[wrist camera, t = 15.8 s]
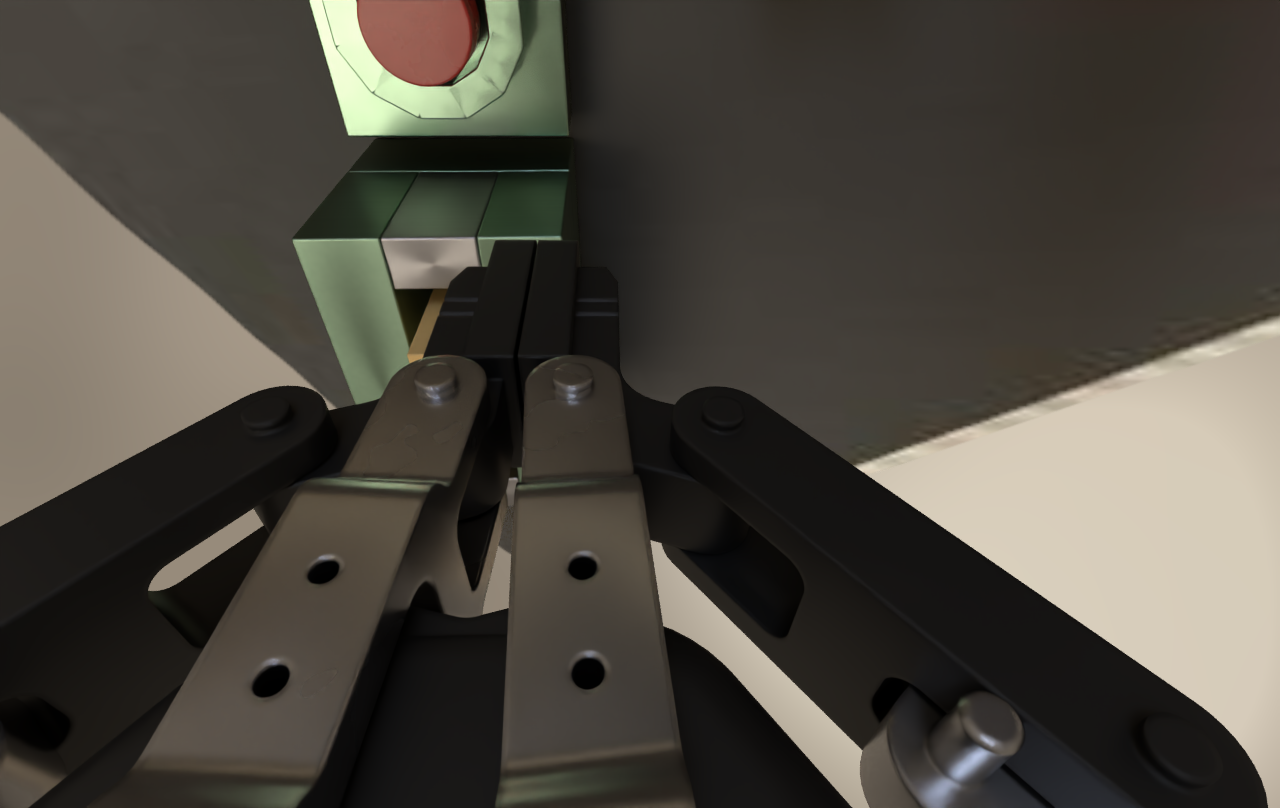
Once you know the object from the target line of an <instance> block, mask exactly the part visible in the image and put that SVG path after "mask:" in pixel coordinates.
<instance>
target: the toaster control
mask: <svg viewBox="0 0 1280 808" xmlns="http://www.w3.org/2000/svg"><path fill="white" fill-rule="evenodd" d="M308 1H309V5H310V8H311V11H312V15H313V18H314V22H315V25H316V29H317V32H318V36H319V39H320V43H321V46H322V50H323V53H324V56H325V60H326V63H327V67H328V70H329V74H330V77H331V81H332V84H333V88H334V91H335V94H336V98H337V101H338V105H339V108H340V112H341V115H342V119H343V122H344V126H345V129H346V132H347V135H348V136H349V137H432V136H568V135H569V133H570V125H571V117H572V104H571V86H570V69H569V52H568V35H567V18H566V1H565V0H475V1H476V4H477V7H478V11H479V17H480V35H479V41H478V44H477V47H476V49H475V52H474V54H473V55H472V57H471V58H470V60H469V61H468V63H467V64H466V66H465V67H464V68H463V70H462V71H461V72H460V73H459V74H458V75H457V76H456V77H455V78H454V79H452V80H450V81H449V82H447V83H444V84H442V85H438V86H430V87H425V86H417V85H413V84H410V83H407V82H405V81H403V80H400V79H399V78H397V77H395V76H394V75H392V74H391V73H390V72H388V71H387V70H386V69H385V68H384V67H383V66H382V65H381V64H380V63H379V62H378V61H377V60H376V59H375V57H374V56H373V55H372V53H371V52H370V50H369V49H368V47H367V45H366V43H365V41H364V39H363V36H362V34H361V31H360V28H359V24H358V19H357V0H308Z"/></svg>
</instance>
